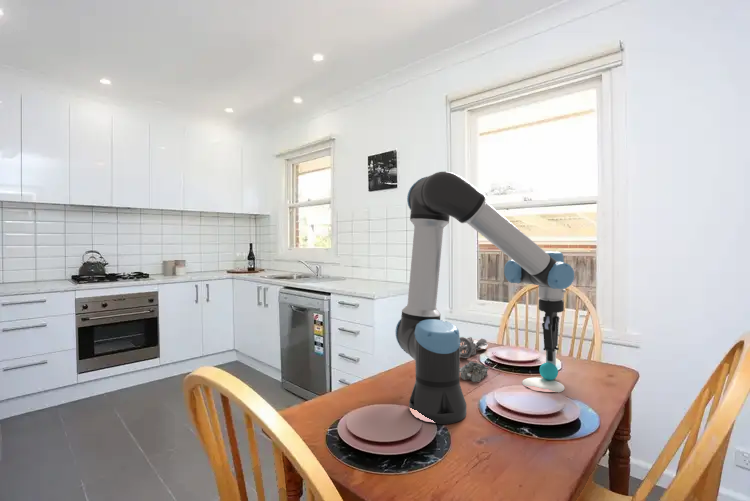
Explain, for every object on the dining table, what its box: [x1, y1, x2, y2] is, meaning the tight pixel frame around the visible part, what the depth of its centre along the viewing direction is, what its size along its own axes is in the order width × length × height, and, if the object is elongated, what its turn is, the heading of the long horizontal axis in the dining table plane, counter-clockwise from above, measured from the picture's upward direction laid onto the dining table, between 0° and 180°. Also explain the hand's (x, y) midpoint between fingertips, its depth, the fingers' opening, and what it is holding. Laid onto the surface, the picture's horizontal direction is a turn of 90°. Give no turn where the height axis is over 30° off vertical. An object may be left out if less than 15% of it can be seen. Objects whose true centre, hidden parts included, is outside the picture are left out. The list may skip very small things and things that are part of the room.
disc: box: [521, 377, 565, 394], centre depth 120 cm, size 12×12×1 cm
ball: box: [539, 361, 559, 380], centre depth 124 cm, size 6×6×6 cm
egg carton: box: [460, 360, 489, 383], centre depth 128 cm, size 10×7×4 cm
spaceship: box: [460, 336, 489, 359], centre depth 147 cm, size 8×35×8 cm
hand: (551, 369), depth 127 cm, fingers closed
